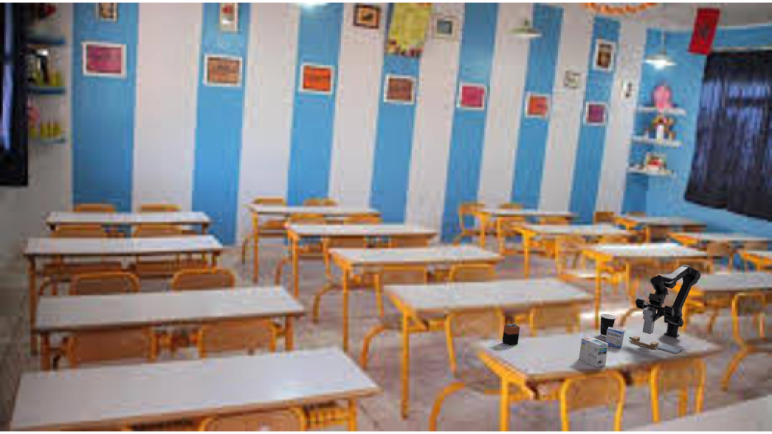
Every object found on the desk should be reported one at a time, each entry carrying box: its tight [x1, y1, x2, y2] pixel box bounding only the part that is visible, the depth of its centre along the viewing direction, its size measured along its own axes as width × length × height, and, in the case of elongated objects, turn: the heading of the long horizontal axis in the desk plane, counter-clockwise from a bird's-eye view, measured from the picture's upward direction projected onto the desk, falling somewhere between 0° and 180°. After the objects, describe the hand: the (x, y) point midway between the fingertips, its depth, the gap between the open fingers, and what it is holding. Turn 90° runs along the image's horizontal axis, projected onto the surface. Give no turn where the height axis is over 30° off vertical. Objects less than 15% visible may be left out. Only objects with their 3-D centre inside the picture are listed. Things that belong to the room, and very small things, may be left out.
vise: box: [629, 335, 659, 350], centre depth 339 cm, size 6×14×2 cm, turn 49°
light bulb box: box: [578, 336, 609, 368], centre depth 306 cm, size 11×7×11 cm, turn 33°
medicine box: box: [604, 327, 626, 349], centre depth 333 cm, size 8×4×9 cm, turn 62°
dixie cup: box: [600, 313, 617, 338], centre depth 347 cm, size 8×8×11 cm
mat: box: [657, 343, 683, 355], centre depth 335 cm, size 9×9×1 cm
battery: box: [501, 323, 521, 346], centre depth 322 cm, size 4×7×10 cm, turn 116°
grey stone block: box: [642, 307, 657, 335], centre depth 335 cm, size 8×4×13 cm, turn 138°
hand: (648, 320), depth 336 cm, fingers closed on grey stone block, 4 cm apart
